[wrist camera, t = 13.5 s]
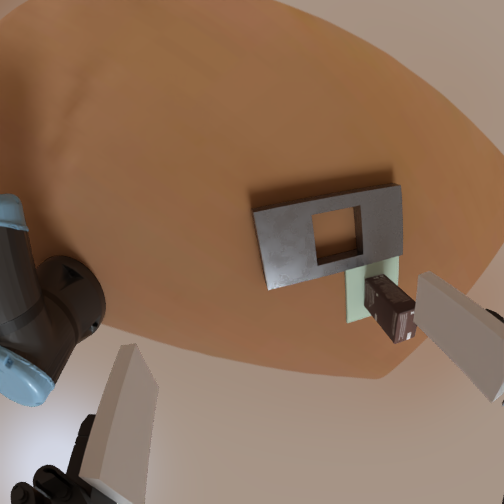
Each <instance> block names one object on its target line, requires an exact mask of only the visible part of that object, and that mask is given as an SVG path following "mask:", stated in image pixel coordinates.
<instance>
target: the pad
mask: <svg viewBox="0 0 504 504" xmlns="http://www.w3.org/2000/svg"><path fill="white" fill-rule="evenodd" d="M398 270H399V256H396V257H393V258H389V259H386V260H382V261H379V262H375V263H372V264H368V265H364V266H361V267H357V268H353V269H350V270H346V271H345V292H346V322H347V323H350V322H353V321H356V320H359V319H362V318H365V317H368V316H371V314H370V313H369V311H368V310H367V309H366V308H365V307H364V299H365V279H366V278H369V277H372V276H375V275H379V274H385V275H386V276H387V277H388V278H389V279H390V280H392V281H393V282H394V283H395V284H396V285H397V286H398Z"/></svg>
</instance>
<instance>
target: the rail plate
mask: <svg viewBox="0 0 504 504" xmlns="http://www.w3.org/2000/svg"><path fill="white" fill-rule="evenodd" d="M348 207H354V218H355V231H356V247H357V249H355V250H351V251H347V252H343V253H339V254H335V255H331V256H327V257H323V258H319V259H317V258H316V249H315V240H314V232H313V224H312V216H311V215H313V214H318V213H323V212H328V211H333V210H338V209H343V208H348ZM251 211H252V216H253V221H254V226H255V231H256V236H257V241H258V247H259V252H260V257H261V262H262V267H263V273H264V278H265V283H266V286H267V288H268V290H270V289H275V288H279V287H283V286H287V285H291V284H295V283H299V282H303V281H307V280H311V279H315V278H319V277H323V276H327V275H331V274H335V273H338V272H342V271H346V270H350V269H353V268H357V267H361V266H364V265H368V264H372V263H375V262H379V261H382V260H386V259H389V258H393V257H396V256H400V255H403V217H402V194H401V185H398V184H393V183H391V184H384V185H378V186H372V187H366V188H360V189H354V190H348V191H342V192H336V193H331V194H325V195H320V196H314V197H309V198H304V199H298V200H293V201H288V202H283V203H278V204H273V205H268V206H263V207H259V208H254V209H251Z"/></svg>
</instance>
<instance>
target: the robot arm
mask: <svg viewBox="0 0 504 504" xmlns="http://www.w3.org/2000/svg"><path fill="white" fill-rule="evenodd" d="M28 231H29V229H28V227H27V226H26V222H25V217H24V212H23V206H22V203H21V201H20V199H19V198H18V197H17V196H16V195H14V194H0V393H1V394H3V395H4V396H5V397H7V398H9V399H10V400H12V401H14V402H16V403H19V404H21V405H24V406H29V407H35V406H39V405H41V404H43V403H44V402H45V400H46V398H47V397H48V395H49V394H50V392H51V391H52V390H53V389H54V387H55V384H56V382H57V380H58V378H59V376H60V374H61V372H62V370H63V368H64V366H65V365H66V363H67V361H68V359H69V357H70V355H71V353H72V351H73V350H74V348H75V346H76V344H78V343H80V342H81V341H83V340H84V339H86V338H87V337H89V336H90V335H92V334H93V333H94V332H95V331H96V330H97V329H98V327H99V326H100V324H101V322H102V320H103V318H104V315H105V310H106V303H105V297H104V293H103V291H102V288H101V286H100V284H99V282H98V281H97V279H96V278H95V276H94V275H93V274H92V272H91V271H90V270H89V269H88V268H87V267H85V266H84V265H83V264H82V263H80V262H78V261H77V260H75V259H72V258H70V257H66V256H54V257H51V258H49V259H47V260H45V261H44V262H43V263H42V264H40V265H39V266H38V267H37V268H35V264H34V260H33V255H32V250H31V246H30V241H29V235H28ZM413 322H414V323H415V324H416V325H417V326H418V327H419V328H420V329H421V330H422V331H423V332H424V333H425V334H426V335H427V336H428V337H429V338H430V339H431V340H432V341H433V342H435V344H436V345H437V346H438V347H439V348H440V349H441V350H442V351H443V352H444V353H445V354H446V355H447V356H448V357H449V358H450V359H451V360H452V361H453V362H454V363H455V364H456V365H457V366H458V367H459V368H460V369H461V370H462V371H463V373H465V375H466V376H467V377H468V378H469V379H470V380H471V381H472V382H473V383H474V384H475V386H476V387H477V388H478V389H479V390H480V391H481V392H482V393H483V394H484V395H485V397H486V398H487V399H488V400H489V401H490V402H491V403H492V402H494V401H495V400H496V399H497V398H499V397H500V396H501V395H502V394H503V392H504V318H503V317H501V316H500V315H499V314H497V313H496V312H494V311H491V310H489V309H484V308H482V307H481V306H480V305H478V304H477V303H476V302H474V301H473V300H471V299H470V298H469V297H467V296H466V295H464V294H463V293H462V292H460V291H459V290H457V289H456V288H454V287H453V286H452V285H450V284H449V283H447V282H446V281H444V280H443V279H441V278H440V277H438V276H437V275H435V274H434V273H432V272H431V271H428V272H425V273H423V274H420V275H418V286H417V296H416V304H415V312H414V319H413ZM158 389H159V386H158V384H157V383H156V381H155V379H154V377H153V375H152V373H151V372H150V370H149V368H148V366H147V364H146V362H145V360H144V358H143V356H142V354H141V352H140V350H139V348H138V346H137V344H129V345H122V346H121V347H120V350H119V352H118V355H117V357H116V360H115V362H114V365H113V368H112V370H111V373H110V376H109V379H108V381H107V384H106V387H105V390H104V393H103V395H102V399H101V401H100V404H99V407H98V411H97V413H96V415H93V414H89V415H88V416H87V418H86V419H85V420H84V421H83V422H82V424H81V426H80V429H79V432H78V437H77V438H76V442H75V444H76V445H74V448H73V451H72V455H71V458H70V461H69V465H68V469H67V472H66V474H64V473H63V472H62V471H61V470H60V469H58V468H57V467H55V466H53V465H45V466H42V467H41V468H39V469H38V470H37V471H36V473H35V475H34V478H33V487H34V488H33V487H32V486H31V485H29V484H28V483H26V482H19V483H17V484H16V485H15V486H14V487H13V489H12V491H11V504H117V503H118V504H145V494H146V481H147V471H148V461H149V453H150V445H151V437H152V429H153V422H154V414H155V408H156V402H157V395H158ZM502 406H504V400H503V402H502ZM502 504H504V497H503V502H502Z"/></svg>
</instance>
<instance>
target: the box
mask: <svg viewBox="0 0 504 504" xmlns="http://www.w3.org/2000/svg"><path fill="white" fill-rule="evenodd" d="M415 304H416V302H415V301H414V300H413V299H412V298H411V297H409V296H408V295H407V294H406V293H405V292H404V291H403V290H402V289H401V288H399V287H398V286H397V285H396V284H395V283H394V282H393V281H392V280H390V279H389V278H388V277H387V276H386V275H385V274H379V275H375V276H372V277H369V278H366V279H365V299H364V307H365V308H366V309H367V310H368V311H369V313H370V314H371V315H372V316H373V318H374V319H375V320H376V321H377V322H378V324H379V325H380V326H381V327H382V329H383V330H384V331H385V332H386V334H387V335H388V336H389V338H390V339H391V340H392V341H393V343H394V344H396V343H399V342H402V341H405V340H407V339H410V338H412V337H414V336H415V332H416V327H417V325H416V324H415V323H414V322H413V319H414V312H415Z"/></svg>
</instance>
